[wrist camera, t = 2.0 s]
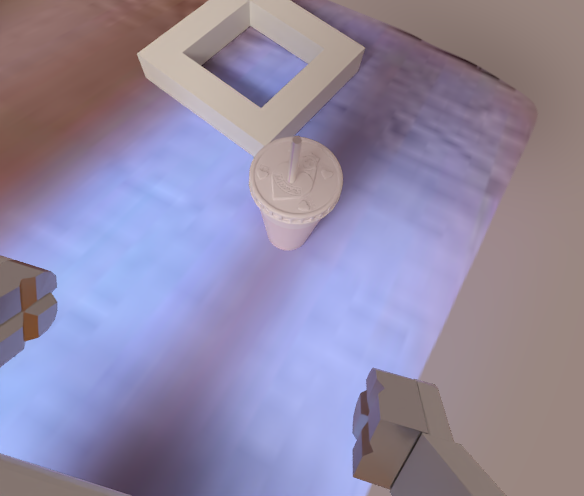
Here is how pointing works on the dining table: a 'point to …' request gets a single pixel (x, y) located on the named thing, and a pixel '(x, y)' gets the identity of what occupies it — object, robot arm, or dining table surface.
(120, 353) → the dining table surface
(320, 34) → the beige square frame
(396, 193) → the dining table surface
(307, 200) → the smoothie
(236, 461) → the dining table surface
